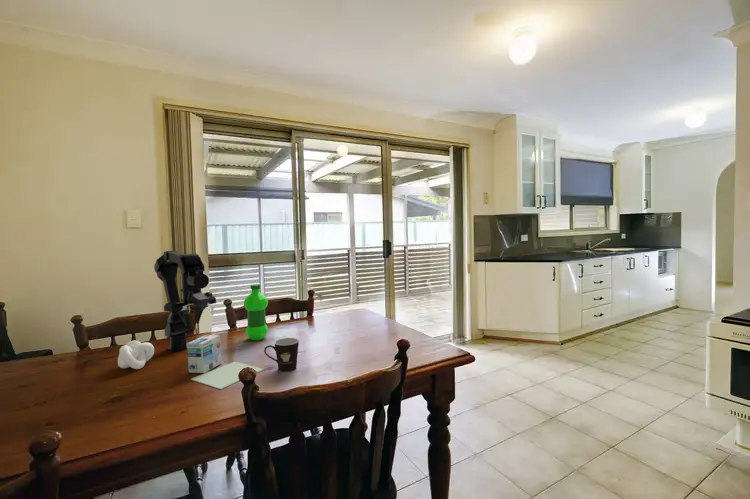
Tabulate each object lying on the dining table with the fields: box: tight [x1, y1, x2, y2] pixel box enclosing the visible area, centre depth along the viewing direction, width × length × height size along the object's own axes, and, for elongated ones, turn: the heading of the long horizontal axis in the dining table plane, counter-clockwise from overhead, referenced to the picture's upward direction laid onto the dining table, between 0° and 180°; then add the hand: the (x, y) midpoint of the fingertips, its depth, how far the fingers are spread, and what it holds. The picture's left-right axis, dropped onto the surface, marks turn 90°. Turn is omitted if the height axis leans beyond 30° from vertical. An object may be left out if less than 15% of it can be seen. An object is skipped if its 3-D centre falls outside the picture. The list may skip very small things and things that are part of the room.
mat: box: [190, 361, 265, 390], centre depth 129 cm, size 16×18×1 cm
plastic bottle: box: [243, 283, 269, 341], centre depth 169 cm, size 10×10×25 cm
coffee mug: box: [263, 337, 300, 373], centre depth 134 cm, size 12×9×10 cm
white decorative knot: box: [117, 339, 155, 370], centre depth 137 cm, size 11×12×9 cm
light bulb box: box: [186, 334, 223, 374], centre depth 134 cm, size 11×7×11 cm, turn 168°
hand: (192, 324), depth 146 cm, fingers open, 4 cm apart
